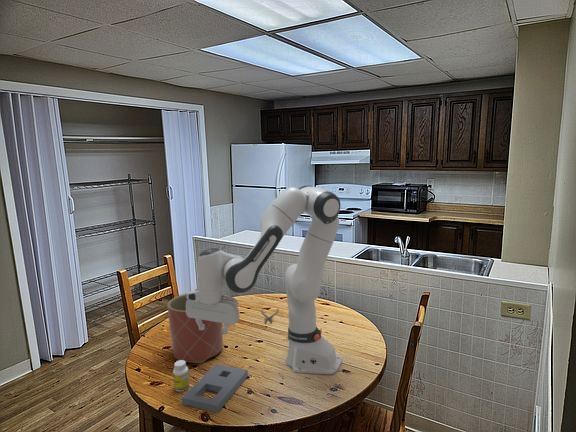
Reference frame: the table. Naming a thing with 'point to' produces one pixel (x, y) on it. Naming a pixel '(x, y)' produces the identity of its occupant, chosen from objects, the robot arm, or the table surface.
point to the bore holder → (215, 387)
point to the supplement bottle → (181, 376)
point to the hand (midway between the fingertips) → (213, 331)
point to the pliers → (269, 317)
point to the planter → (192, 334)
